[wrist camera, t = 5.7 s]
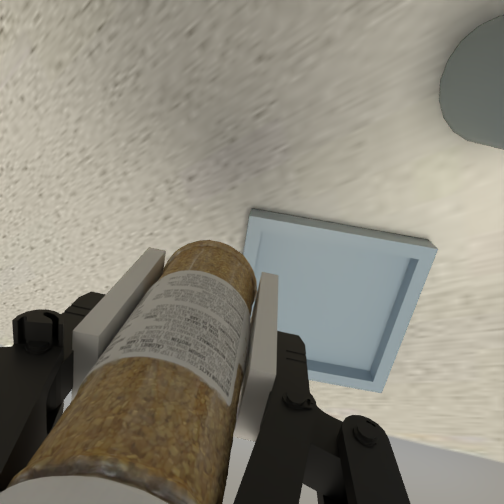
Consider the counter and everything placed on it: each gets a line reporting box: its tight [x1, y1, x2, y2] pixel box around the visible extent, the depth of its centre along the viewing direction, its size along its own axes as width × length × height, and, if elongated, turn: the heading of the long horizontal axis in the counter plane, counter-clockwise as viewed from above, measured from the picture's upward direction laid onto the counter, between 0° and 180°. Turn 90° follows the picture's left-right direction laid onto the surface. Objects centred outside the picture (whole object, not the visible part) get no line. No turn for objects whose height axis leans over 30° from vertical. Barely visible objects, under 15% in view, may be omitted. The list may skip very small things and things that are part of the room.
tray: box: [243, 209, 438, 393], centre depth 35 cm, size 16×16×2 cm
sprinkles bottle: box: [0, 240, 257, 504], centre depth 11 cm, size 5×5×14 cm
